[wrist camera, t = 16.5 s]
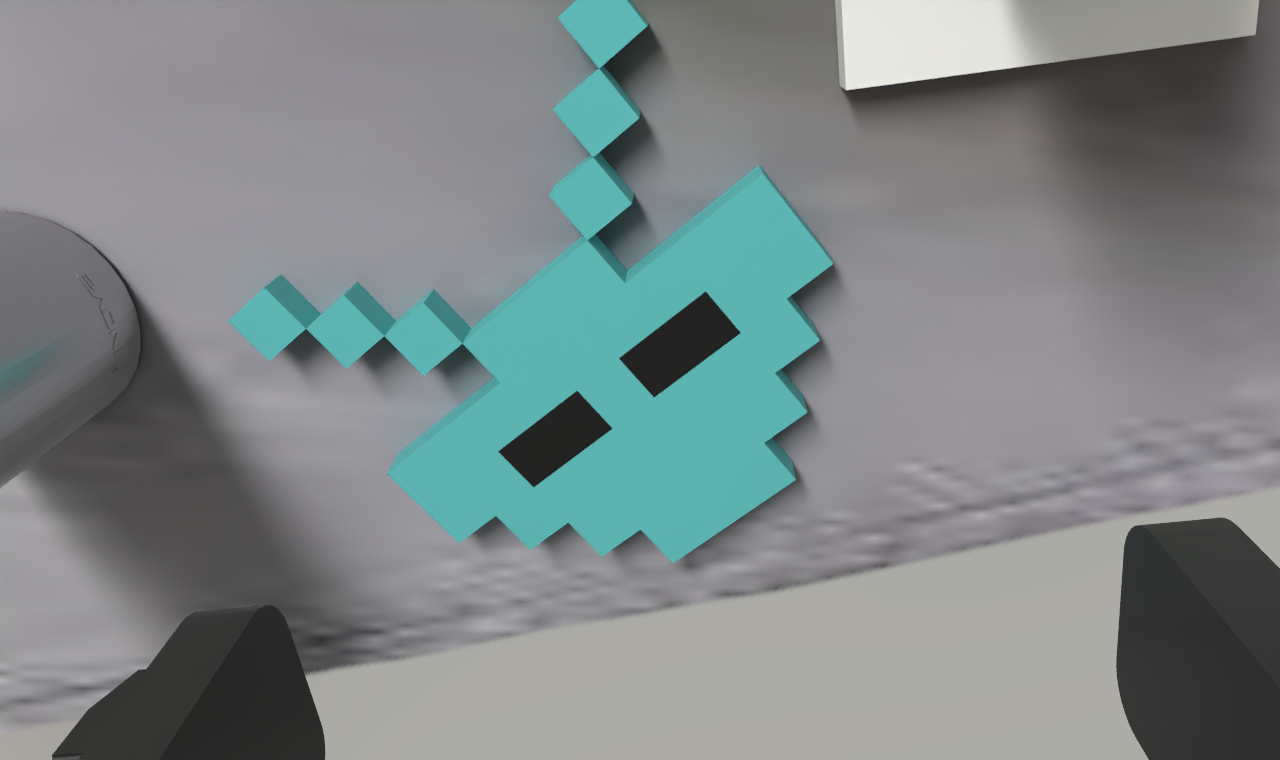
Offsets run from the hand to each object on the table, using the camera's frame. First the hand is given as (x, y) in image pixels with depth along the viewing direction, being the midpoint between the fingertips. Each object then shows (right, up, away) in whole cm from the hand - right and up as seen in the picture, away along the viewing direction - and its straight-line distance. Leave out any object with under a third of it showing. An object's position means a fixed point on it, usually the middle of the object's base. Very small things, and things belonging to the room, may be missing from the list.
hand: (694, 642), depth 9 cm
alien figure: (-3, +4, +32) cm, 32 cm away
